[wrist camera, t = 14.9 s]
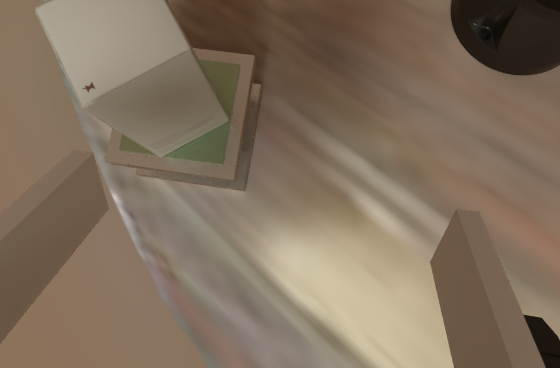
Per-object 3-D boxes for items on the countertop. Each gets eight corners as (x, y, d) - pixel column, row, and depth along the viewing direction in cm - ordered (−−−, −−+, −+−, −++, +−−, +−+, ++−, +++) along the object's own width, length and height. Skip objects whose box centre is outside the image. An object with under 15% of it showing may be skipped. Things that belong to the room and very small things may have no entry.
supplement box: (232, 121, 33) (194, 50, 21) (159, 159, 33) (76, 111, 20) (196, 55, 34) (140, -50, 22) (126, 91, 34) (27, 6, 21)
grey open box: (162, 77, 43) (130, 38, 35) (262, 89, 42) (254, 53, 34) (141, 176, 41) (103, 160, 33) (245, 191, 40) (232, 179, 32)
